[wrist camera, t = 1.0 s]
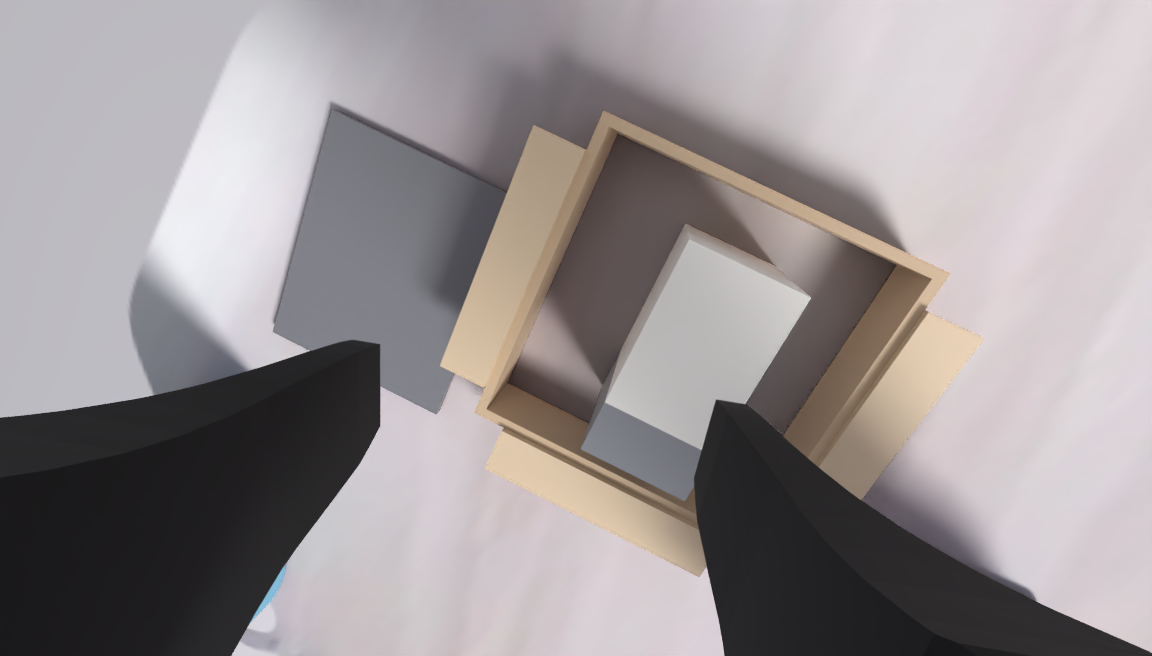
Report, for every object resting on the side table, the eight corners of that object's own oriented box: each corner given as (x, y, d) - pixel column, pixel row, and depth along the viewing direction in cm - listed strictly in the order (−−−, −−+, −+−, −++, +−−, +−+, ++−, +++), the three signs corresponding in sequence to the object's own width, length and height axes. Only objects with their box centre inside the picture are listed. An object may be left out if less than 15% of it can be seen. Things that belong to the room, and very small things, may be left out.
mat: (523, 200, 23) (521, 200, 22) (439, 410, 26) (436, 414, 26) (336, 110, 23) (331, 109, 23) (278, 329, 26) (272, 331, 26)
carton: (960, 282, 20) (1012, 302, 17) (761, 560, 25) (773, 615, 22) (567, 98, 21) (549, 84, 18) (445, 401, 26) (413, 432, 23)
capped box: (775, 266, 22) (811, 298, 16) (682, 424, 24) (684, 501, 18) (685, 223, 22) (689, 239, 16) (602, 385, 24) (580, 448, 19)
